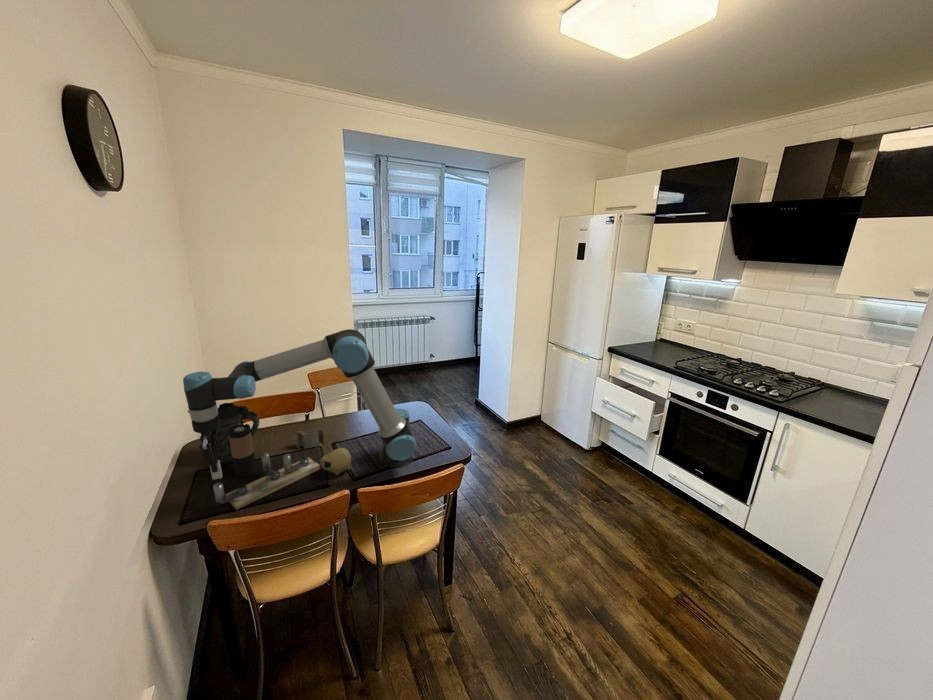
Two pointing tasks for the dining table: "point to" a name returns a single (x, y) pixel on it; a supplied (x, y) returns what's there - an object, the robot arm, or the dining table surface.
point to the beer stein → (229, 418)
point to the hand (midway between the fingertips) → (217, 477)
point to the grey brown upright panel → (310, 438)
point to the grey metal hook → (269, 466)
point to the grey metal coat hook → (223, 499)
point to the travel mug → (242, 449)
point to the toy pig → (336, 461)
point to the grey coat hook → (290, 468)
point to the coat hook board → (272, 484)
